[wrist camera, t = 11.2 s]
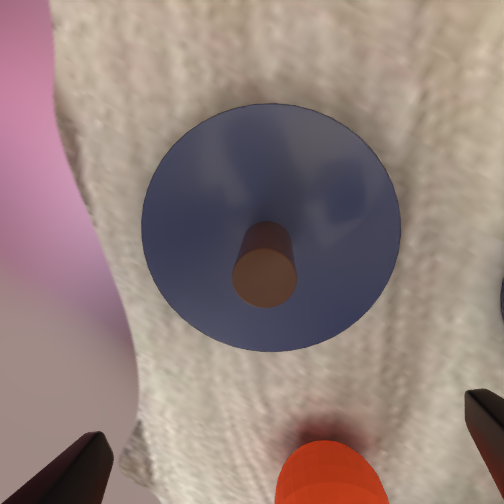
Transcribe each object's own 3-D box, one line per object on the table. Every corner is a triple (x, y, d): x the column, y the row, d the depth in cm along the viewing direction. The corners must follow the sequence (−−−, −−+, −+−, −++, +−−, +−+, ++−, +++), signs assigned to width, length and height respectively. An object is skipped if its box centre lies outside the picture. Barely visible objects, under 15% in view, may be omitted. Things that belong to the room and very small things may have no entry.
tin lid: (402, 323, 19) (450, 393, 14) (187, 355, 21) (158, 426, 16) (381, 72, 15) (439, 36, 9) (113, 141, 16) (39, 143, 11)
